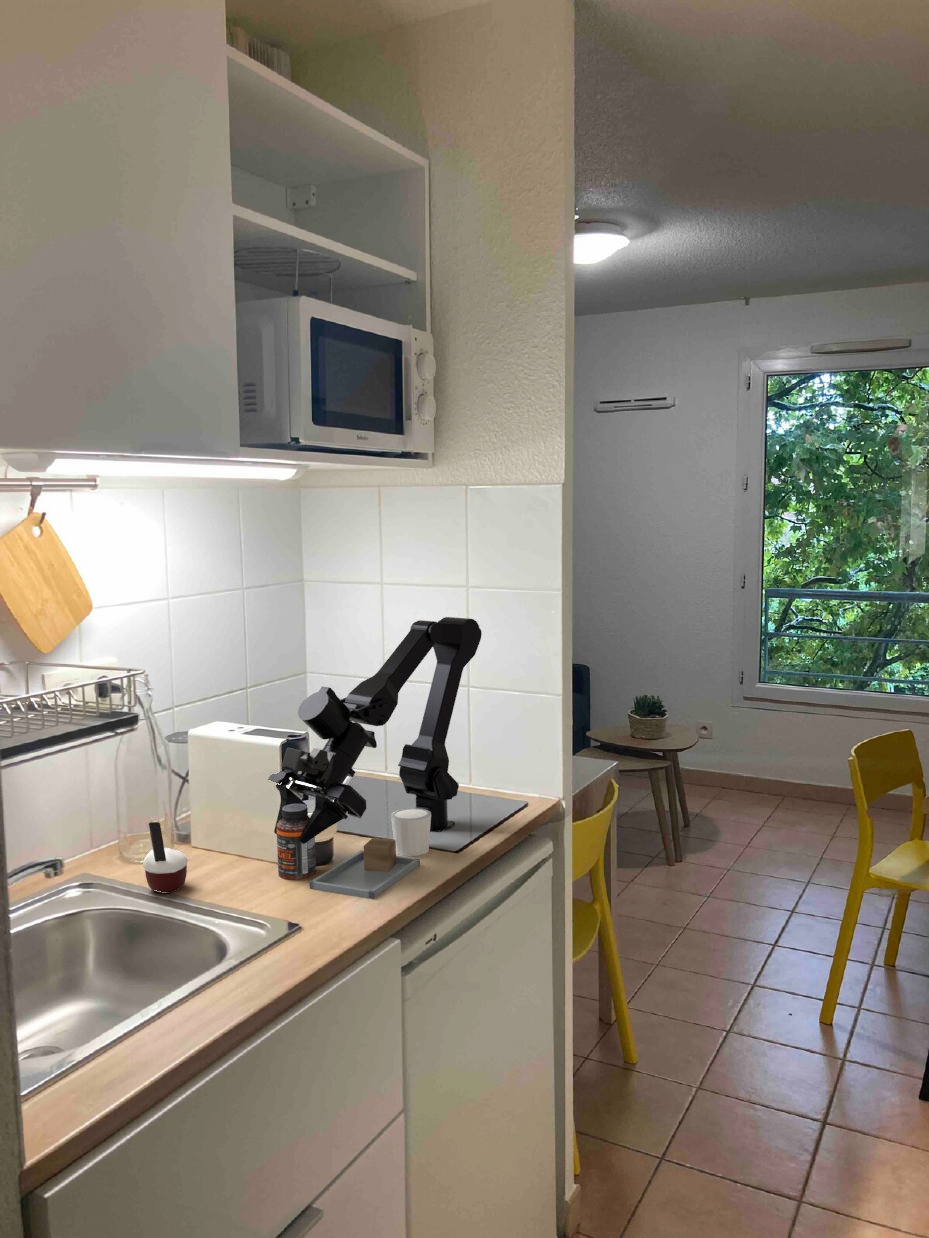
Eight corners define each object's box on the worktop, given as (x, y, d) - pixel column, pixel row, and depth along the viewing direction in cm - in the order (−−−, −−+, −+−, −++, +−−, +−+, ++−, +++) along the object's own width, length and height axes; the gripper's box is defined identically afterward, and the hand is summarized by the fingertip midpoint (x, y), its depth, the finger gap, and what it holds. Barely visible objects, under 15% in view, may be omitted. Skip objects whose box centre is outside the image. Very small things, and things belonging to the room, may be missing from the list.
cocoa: (168, 879, 159) (163, 805, 158) (201, 882, 156) (197, 807, 156) (128, 899, 150) (123, 820, 149) (162, 902, 148) (158, 823, 147)
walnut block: (373, 861, 162) (372, 837, 162) (396, 863, 161) (395, 839, 161) (364, 870, 158) (363, 845, 158) (388, 872, 157) (387, 847, 157)
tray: (360, 859, 165) (360, 850, 165) (419, 868, 160) (419, 858, 160) (309, 892, 151) (309, 881, 151) (372, 902, 147) (372, 892, 146)
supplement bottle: (270, 879, 157) (267, 809, 155) (293, 867, 162) (290, 799, 160) (301, 885, 154) (298, 814, 152) (323, 872, 159) (321, 803, 158)
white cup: (439, 850, 169) (438, 810, 168) (419, 863, 163) (418, 821, 162) (404, 844, 172) (403, 805, 171) (383, 857, 166) (382, 816, 165)
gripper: (274, 720, 164) (221, 800, 157) (349, 735, 152) (295, 823, 145) (313, 757, 171) (264, 836, 164) (388, 774, 159) (339, 860, 152)
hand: (288, 838), depth 156 cm, fingers closed on supplement bottle, 6 cm apart
